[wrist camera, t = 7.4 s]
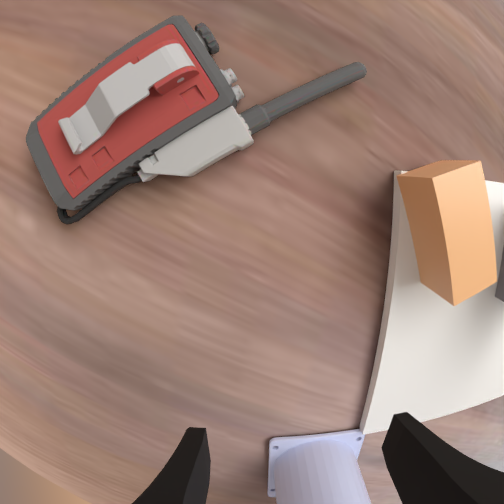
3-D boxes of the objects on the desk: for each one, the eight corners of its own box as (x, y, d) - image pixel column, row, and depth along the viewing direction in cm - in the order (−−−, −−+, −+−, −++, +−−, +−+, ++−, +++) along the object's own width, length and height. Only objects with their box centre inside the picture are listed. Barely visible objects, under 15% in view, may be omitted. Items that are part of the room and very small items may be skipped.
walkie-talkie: (91, 248, 19) (366, 88, 17) (56, 268, 14) (396, 69, 12) (35, 140, 17) (292, -17, 15) (-6, 137, 13) (301, -54, 10)
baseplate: (501, 388, 23) (506, 393, 22) (359, 426, 22) (362, 434, 21) (547, 191, 18) (554, 193, 17) (394, 170, 18) (401, 170, 17)
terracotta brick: (460, 263, 18) (497, 281, 14) (420, 282, 18) (453, 306, 14) (440, 160, 16) (480, 160, 13) (396, 175, 17) (432, 178, 13)
